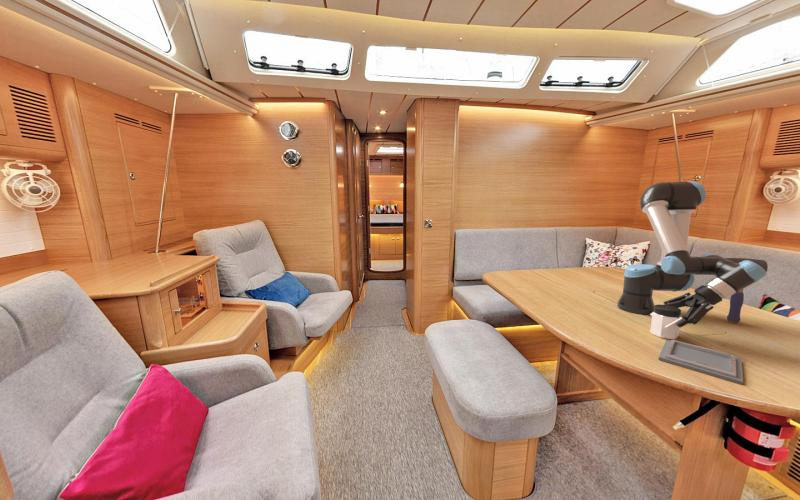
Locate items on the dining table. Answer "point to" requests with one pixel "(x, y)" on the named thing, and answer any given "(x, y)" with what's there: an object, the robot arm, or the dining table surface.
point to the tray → (698, 364)
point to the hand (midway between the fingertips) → (659, 323)
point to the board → (703, 361)
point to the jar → (664, 321)
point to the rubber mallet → (740, 292)
